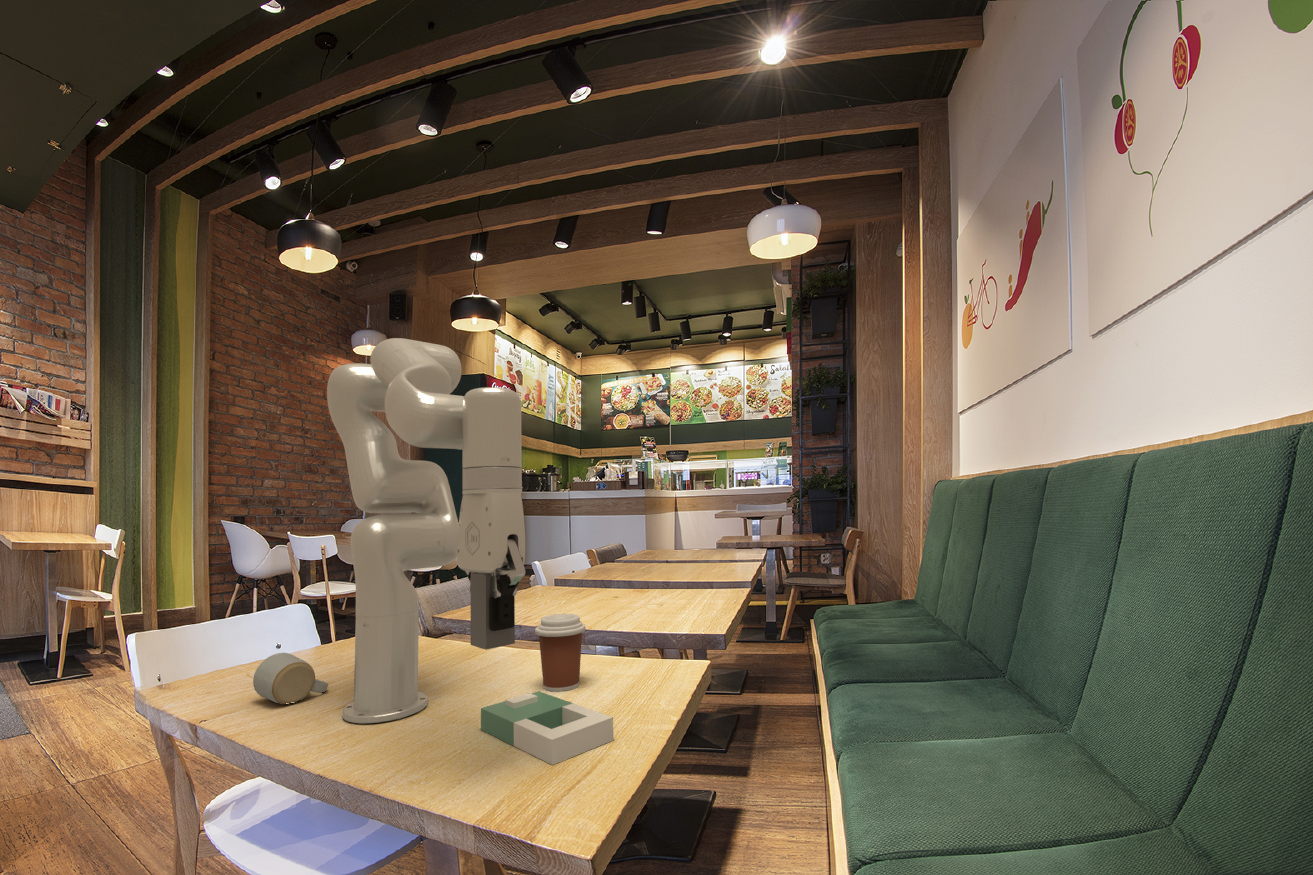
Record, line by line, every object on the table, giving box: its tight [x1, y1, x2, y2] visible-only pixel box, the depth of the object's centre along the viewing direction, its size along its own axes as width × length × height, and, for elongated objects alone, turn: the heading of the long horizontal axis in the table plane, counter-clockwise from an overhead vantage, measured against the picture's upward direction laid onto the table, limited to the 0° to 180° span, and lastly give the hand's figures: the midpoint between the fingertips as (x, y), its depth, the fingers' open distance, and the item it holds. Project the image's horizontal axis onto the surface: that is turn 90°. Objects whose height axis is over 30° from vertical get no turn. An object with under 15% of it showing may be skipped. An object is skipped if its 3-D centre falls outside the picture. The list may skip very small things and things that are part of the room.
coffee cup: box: [534, 613, 587, 693], centre depth 106 cm, size 9×9×12 cm
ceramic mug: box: [252, 652, 329, 705], centre depth 104 cm, size 11×8×8 cm
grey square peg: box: [470, 569, 516, 651], centre depth 75 cm, size 4×4×9 cm
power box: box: [480, 691, 614, 766], centre depth 83 cm, size 18×10×4 cm, turn 45°
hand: (492, 625), depth 75 cm, fingers closed on grey square peg, 4 cm apart
